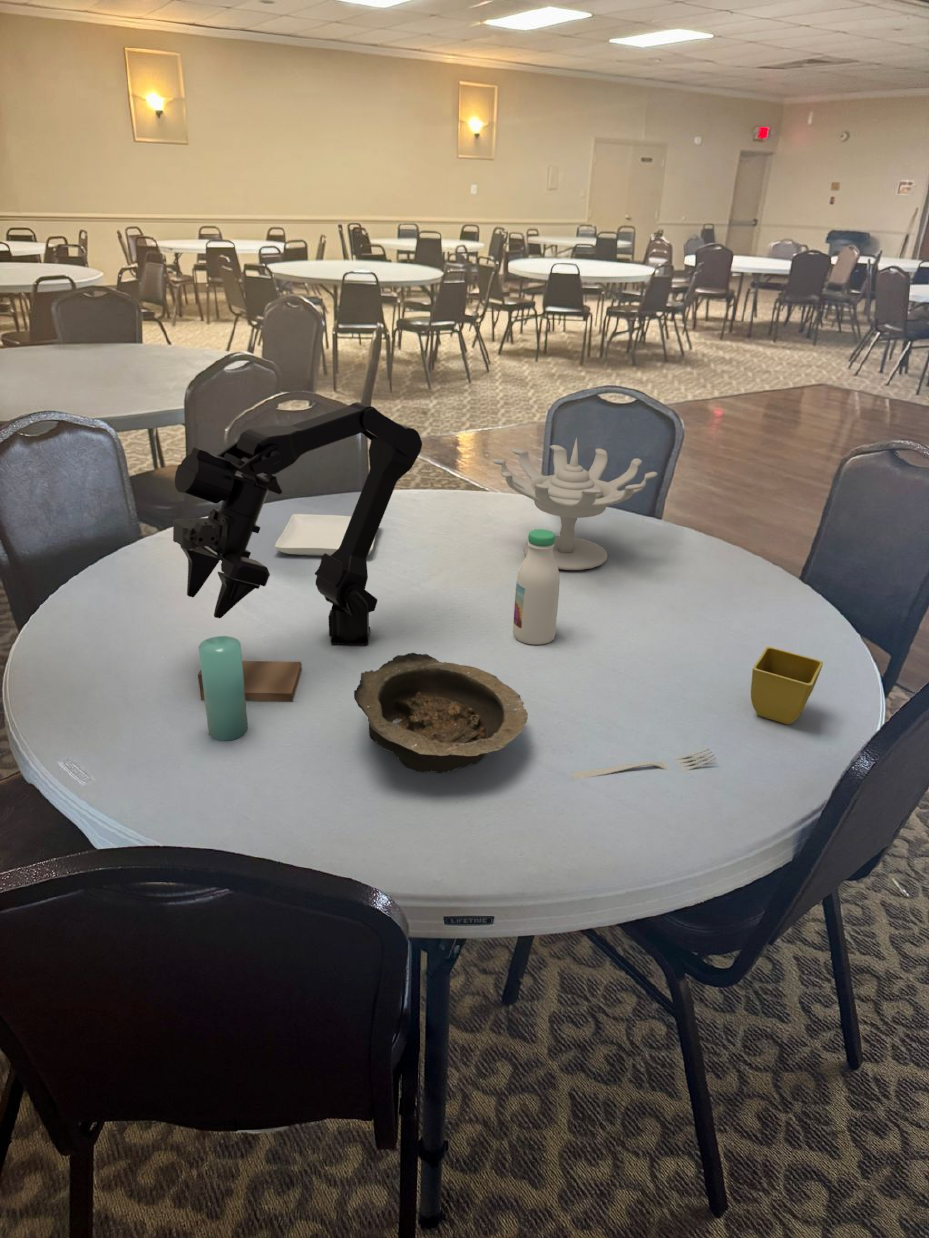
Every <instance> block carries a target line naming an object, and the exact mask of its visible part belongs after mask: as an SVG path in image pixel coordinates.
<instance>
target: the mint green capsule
mask: <svg viewBox="0 0 929 1238" xmlns="http://www.w3.org/2000/svg"><path fill="white" fill-rule="evenodd" d="M198 651H199V652H198V653H199V661H200V662H199V663H200V670H201V672H202V681H203V689H204V698H205V700H204V704H205V713H206V722H207V731H208V735H209V737H210V736H211V737H210V738H212V739H213V738H214V739H213V740H216V741H220V742H229V741H233V740H234V739H235V740H237V739H241V736H242V737H244V736H245V735H246V734H247V732H248V731H249V723H248V711H247V701H246V699H245V688H244V677H243V666H242V661H243V657H242V656H243V655H242V645H241V641H240V640H239V639H238V638H236V637H232V636H227V635H226V636H225V635H221V636H220V635H219V636H213V637H209V638H207V639H205V640H203V641H202V642H200V643H199V645H198ZM245 733H246V734H245Z"/></svg>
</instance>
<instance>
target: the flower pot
mask: <svg viewBox="0 0 929 1238" xmlns="http://www.w3.org/2000/svg"><path fill="white" fill-rule="evenodd" d="M822 668H823V661H821V660H820V659H817V658H812V657H810V656H804V655H801V654H798V653H794V652H790V651H786V650H783V649H779V648H775V647H771V646H766V647H765V648H764V650H763V651H762V654H761V655H760V657H759V658H758V660H757V661H756V662H755V664H753V667H752V670H751V671H752V672H751V673H752V674H751V684H750V700H751V703H752V708H753V710H754V711H755V713H756V714H757V716H759V717H762V718H765V719H769V720H771V721H775V722H778V723H782V724H785V725H788V726H789V725H791V724H793V723H794V722H795V721H796V720H797V719H798V718H799V717H800V715H801V714H802V713H803V711H804V708H805V706H806V704H807V703H808V702H807V701H808V700H809V698H810V696H811V694H812V693H813V691H814V688H815V685H816V683H817V680H818V678H819V675H820V673H821V671H822Z"/></svg>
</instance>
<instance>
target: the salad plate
mask: <svg viewBox="0 0 929 1238" xmlns="http://www.w3.org/2000/svg"><path fill="white" fill-rule="evenodd" d="M351 517H352V515H338V514H337V515H334V514H312V513H311V514H309V513H307V514H305V513H294V514H292V515H291V517H290V518H289V520H288V521H287V522H288V523H287V524H286V526H285V528H284V530H283V531H282V533H281V534H280V535H279V537H278V539H277V540H276V542H275V544H274V548H275V549H276V550H277V551H279V552H281V553H283V554H288V555H298V556H315V557H316V556H317V557H319V556H320V557H322V556H323V555H324V554H325V553H326V554H328V555H330V556H331V555H332V554H333V553H334V552H335V551H337V550H338V549H339V547H340V545H341V543H342V540H343V538H344V535H345V532H346V530H347V527H348V525H349V522H350V520H351ZM375 540H376V536H375V538H374V541H373V543H372V546H371V548H370V551H369V553H368V555H370V554H371V552H372V551H373V549H374V545H375Z"/></svg>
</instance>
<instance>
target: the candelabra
mask: <svg viewBox="0 0 929 1238" xmlns="http://www.w3.org/2000/svg"><path fill="white" fill-rule="evenodd" d="M549 448H550V449H551V450H552V451H553V457H552V458H553V459H552V461H553V474H550V475H543V473H541V472H539V471H538V470H537V469H536V468H535V466H534V465H533V464H532V462H531V460H530V458H529V456H530V455H529V451H528V450H525V449H521V448H512V449H511V450H510V451H511V452H512V453H513V454H514V455H517V456H518V462H519V465H520V468H521V469H522V470H523V472H524V473H525V474H526V476H527V477H528V478H529V480H526V479H523V478H521V477H519V476H518V475H516V474H514V473H513V472H512V471H510V470H509V468H508V466H507V465H506V464H507V462H506V461H507V460H506V459H503V458H495V459H492V463H493V464H495V465H499V466H501V473H500V475H501V477H503V478H505V481H506V484H507V486H508V487H510V489H512V490H514V492H517V493H518V494H521V495H523V496H525V497H527V498H528V499H531V500H532V501H533V503H534V506H535V507H536V508H537V509H538V510H539V511H541V512H544V513H546V514H549V515H552V516H556V517H559V518H560V524H561V527H560V531H559V535H555V543H554V545H555V546H554V547H553V555H554V559H555V562H556V564H557V567H558V570H565V571H580V570H581V571H582V570H587V569H593V568H595V567H600V566H601V565H603V564H604V563H605V562H606V561H607V559H608V557H609V556H608V553H607V551H606V549H605V548H603V547H602V546H601V545H599V544H598V543H595V542H593V541H590V540H588V539H585V538H581V537H576V536H575V534H576V533H575V525H576V523H577V520H578V519H579V518H581V519H583V518H591V517H596V516H599V515H601V514H603V513H604V512H605V510H606V508H607V507H609V506H612V505H616V504H620V503H622V502H625V501H628V499H631V497H632V496H633V495H635V494H636V493H639V492H642V491H643V489H644V488H645V486H646V485H647V481H648V480H651V479H653V478H655V477H657V475H658V472H656V471H649V472H647V473H645V474H644V478H643V480H642V481H641V482H640V483H636V484H629V485H626V484H627V483H629V482H630V481H632V480H633V479H634V478H635V477H636V475H637V474H638V469H639V466H641V465H642V462H643V460H641V459H640V458H638V457H637V458H633V459H632V460H631V462H630V463H629V464H630V465H629V467H628V469H627V470H626V472H624V473H622V474H621V475H620V476H618V477H617V478H615V479H613V480H610V481H604V480H601V478H602V475H603V473H604V471H605V470H606V468H607V464H608V462H609V461H608V459H609V457H608V452H607V451H606V449H603V448H595V450H594V451H595V456H594V459H593V462H592V464H591V466H590V468H589V470H586V469H585V468H584V467H583V466H582V465H580V464H579V456H578V455H579V454H578V452H579V451H578V439H577V436H576V438H575V441H574V446H573V449H572V454H571V457H570V461H569V462H568V450H566V448H564V447H563V446H561V445H557V444H553V445H549ZM625 485H626V486H625ZM623 486H625V488H624V489H622V490H621V489H620V488H622V487H623ZM528 550H529V545H528V542H527V543H526V544H525V545H524V547H523V552H524V555H525V556H526V555H527V553H528Z"/></svg>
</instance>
